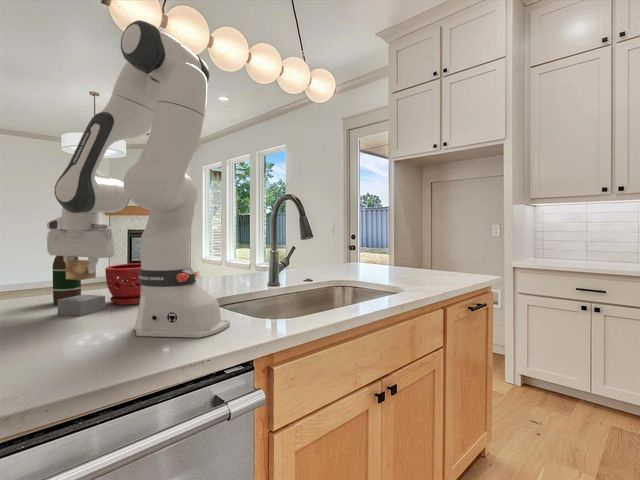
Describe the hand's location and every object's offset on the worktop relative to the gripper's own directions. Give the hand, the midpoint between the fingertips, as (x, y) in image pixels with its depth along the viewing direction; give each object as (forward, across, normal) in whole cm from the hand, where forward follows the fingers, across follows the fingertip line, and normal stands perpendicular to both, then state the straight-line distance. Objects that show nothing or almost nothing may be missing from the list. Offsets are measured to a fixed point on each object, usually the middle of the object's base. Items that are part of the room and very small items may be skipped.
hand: (81, 272), depth 103 cm
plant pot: (+11, -3, -14) cm, 19 cm away
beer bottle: (+12, +15, -8) cm, 20 cm away
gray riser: (+11, 0, 0) cm, 11 cm away
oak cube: (+2, 0, 0) cm, 2 cm away
